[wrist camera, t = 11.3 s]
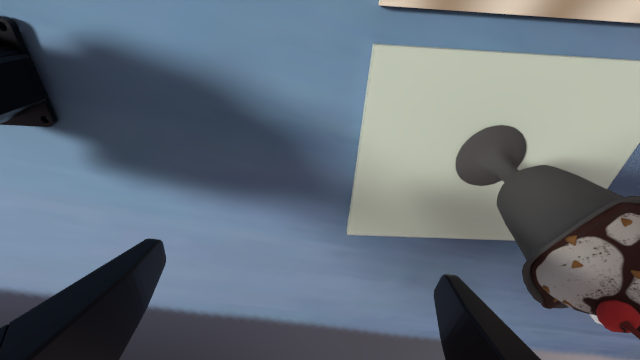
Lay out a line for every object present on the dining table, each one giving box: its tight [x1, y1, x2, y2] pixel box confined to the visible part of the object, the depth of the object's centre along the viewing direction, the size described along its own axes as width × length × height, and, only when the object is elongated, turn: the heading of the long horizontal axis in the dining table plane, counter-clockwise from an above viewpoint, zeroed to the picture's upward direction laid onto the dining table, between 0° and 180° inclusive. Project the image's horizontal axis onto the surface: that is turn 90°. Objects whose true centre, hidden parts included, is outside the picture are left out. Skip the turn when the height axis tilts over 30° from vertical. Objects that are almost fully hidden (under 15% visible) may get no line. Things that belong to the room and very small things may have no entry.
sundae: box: [456, 125, 640, 339], centre depth 15 cm, size 7×7×15 cm
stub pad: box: [347, 44, 640, 241], centre depth 22 cm, size 20×15×1 cm
